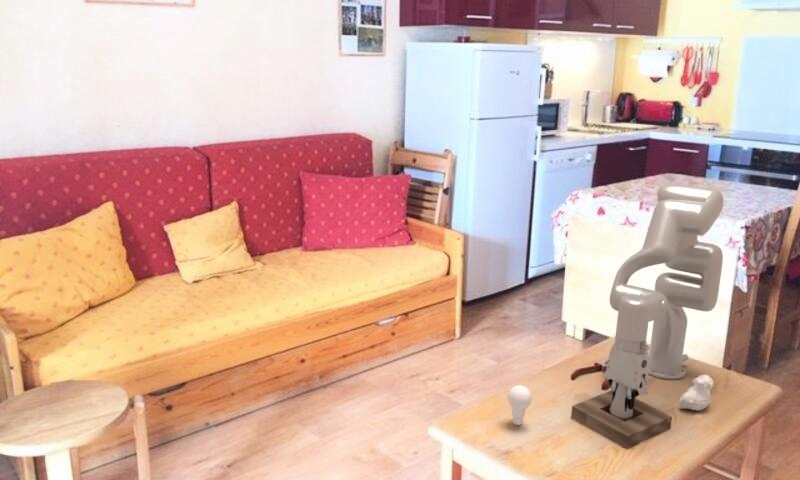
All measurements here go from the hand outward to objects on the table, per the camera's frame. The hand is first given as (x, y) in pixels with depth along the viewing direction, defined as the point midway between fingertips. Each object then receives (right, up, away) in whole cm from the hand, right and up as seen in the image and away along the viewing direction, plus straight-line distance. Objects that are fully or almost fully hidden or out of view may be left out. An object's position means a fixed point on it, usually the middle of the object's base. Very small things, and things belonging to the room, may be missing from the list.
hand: (622, 406), depth 180 cm
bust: (+24, -3, +10) cm, 26 cm away
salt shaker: (0, -4, +1) cm, 4 cm away
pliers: (+3, +2, +28) cm, 28 cm away
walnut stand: (0, -4, +1) cm, 5 cm away
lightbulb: (-28, -5, -1) cm, 28 cm away
